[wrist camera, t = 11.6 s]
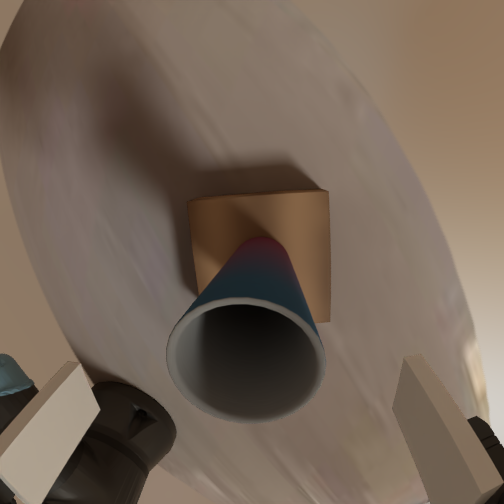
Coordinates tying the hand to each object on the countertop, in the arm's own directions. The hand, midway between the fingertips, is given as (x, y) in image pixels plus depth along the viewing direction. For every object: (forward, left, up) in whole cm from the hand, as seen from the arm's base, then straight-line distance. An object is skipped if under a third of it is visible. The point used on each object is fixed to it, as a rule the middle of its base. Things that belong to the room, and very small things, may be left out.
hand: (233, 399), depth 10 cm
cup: (0, 0, -17) cm, 17 cm away
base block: (0, 0, -21) cm, 21 cm away
